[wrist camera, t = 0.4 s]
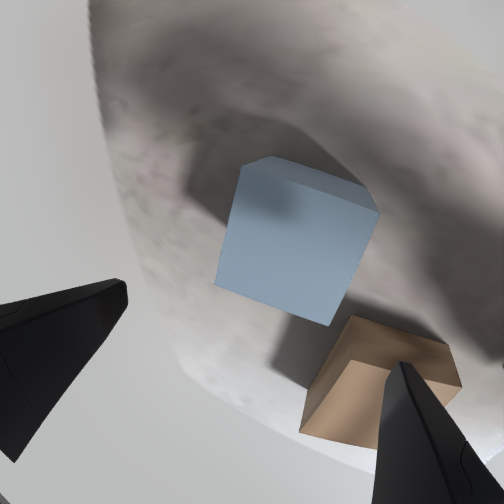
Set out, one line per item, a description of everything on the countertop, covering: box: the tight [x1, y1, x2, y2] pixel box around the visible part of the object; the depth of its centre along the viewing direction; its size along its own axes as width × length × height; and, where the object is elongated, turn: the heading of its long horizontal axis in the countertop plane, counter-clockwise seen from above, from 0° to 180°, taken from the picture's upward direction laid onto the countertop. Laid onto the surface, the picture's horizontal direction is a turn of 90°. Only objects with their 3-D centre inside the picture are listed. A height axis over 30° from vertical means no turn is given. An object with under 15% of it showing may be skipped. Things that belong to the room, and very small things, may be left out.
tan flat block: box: [299, 314, 462, 449], centre depth 19 cm, size 9×9×5 cm
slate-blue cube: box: [214, 155, 380, 327], centre depth 16 cm, size 6×6×6 cm
